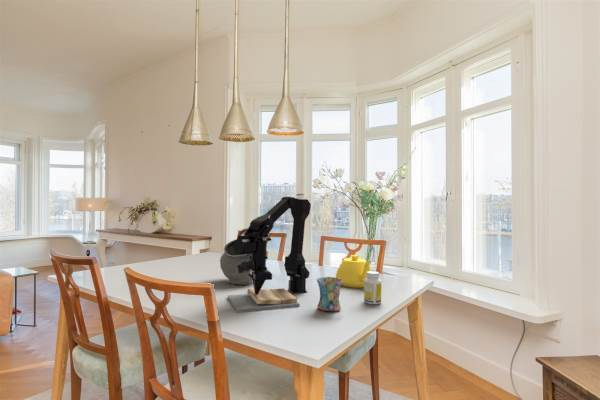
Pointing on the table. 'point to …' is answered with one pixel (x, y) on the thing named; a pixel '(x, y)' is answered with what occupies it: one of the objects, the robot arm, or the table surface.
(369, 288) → the pill bottle
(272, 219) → the robot arm
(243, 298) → the underlay
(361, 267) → the teapot
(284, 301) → the plank
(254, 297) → the click plank
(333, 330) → the table surface
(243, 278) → the pot
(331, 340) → the table surface
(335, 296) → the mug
